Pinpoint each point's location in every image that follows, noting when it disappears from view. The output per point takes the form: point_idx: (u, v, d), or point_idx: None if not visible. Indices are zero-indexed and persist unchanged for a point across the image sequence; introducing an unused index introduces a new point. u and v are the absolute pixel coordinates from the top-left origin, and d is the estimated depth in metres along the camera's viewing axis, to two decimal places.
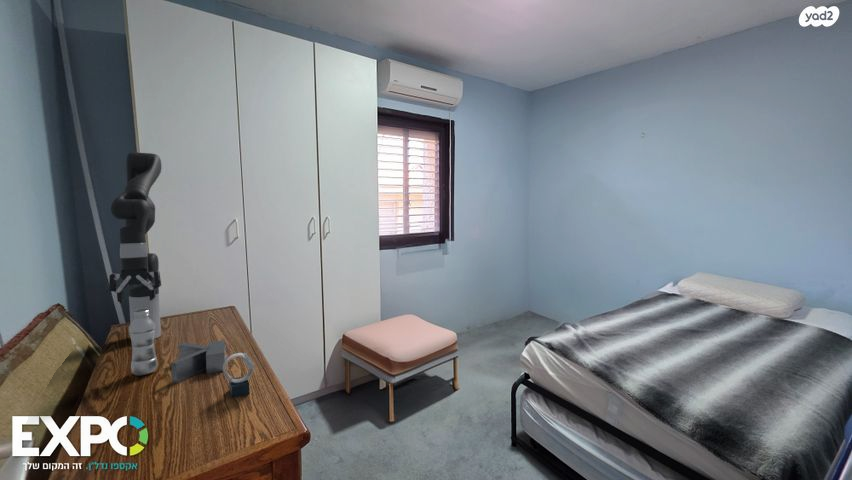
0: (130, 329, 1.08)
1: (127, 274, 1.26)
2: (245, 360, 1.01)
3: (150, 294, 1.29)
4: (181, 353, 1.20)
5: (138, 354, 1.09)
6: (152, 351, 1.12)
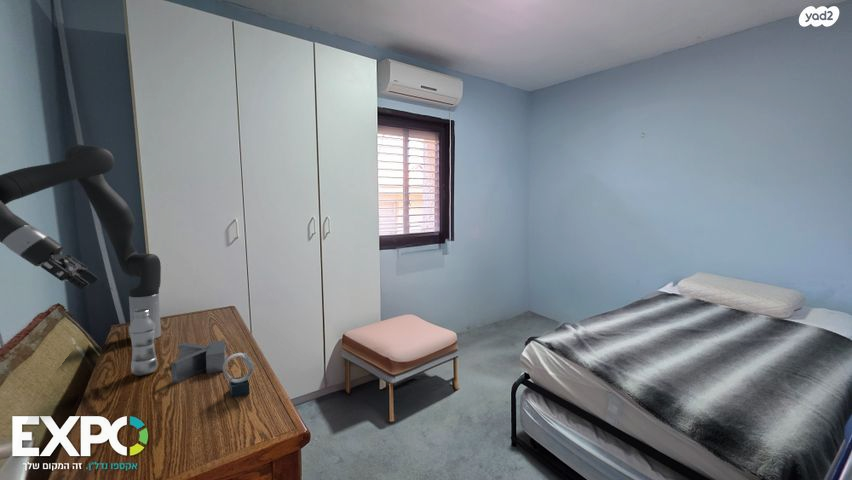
0: (130, 329, 1.08)
1: None
2: (245, 360, 1.01)
3: None
4: (181, 353, 1.20)
5: (138, 354, 1.09)
6: (152, 351, 1.12)
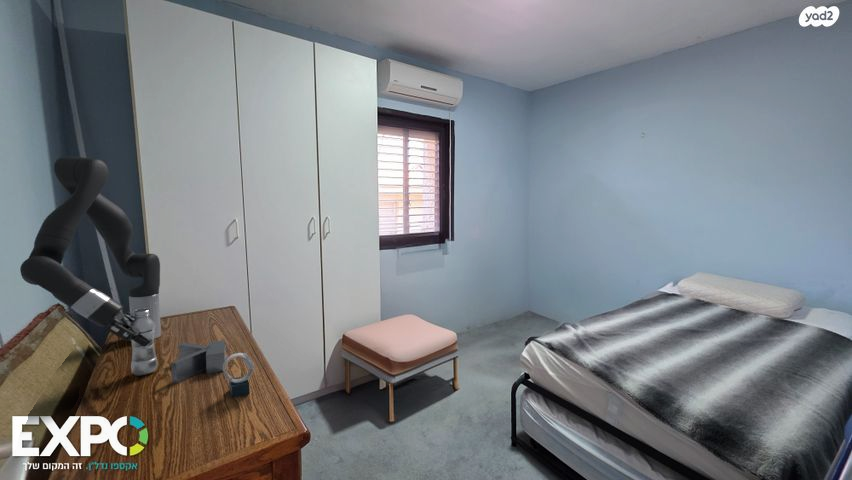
0: None
1: None
2: (245, 360, 1.01)
3: None
4: (181, 353, 1.20)
5: (138, 354, 1.09)
6: (153, 351, 1.12)
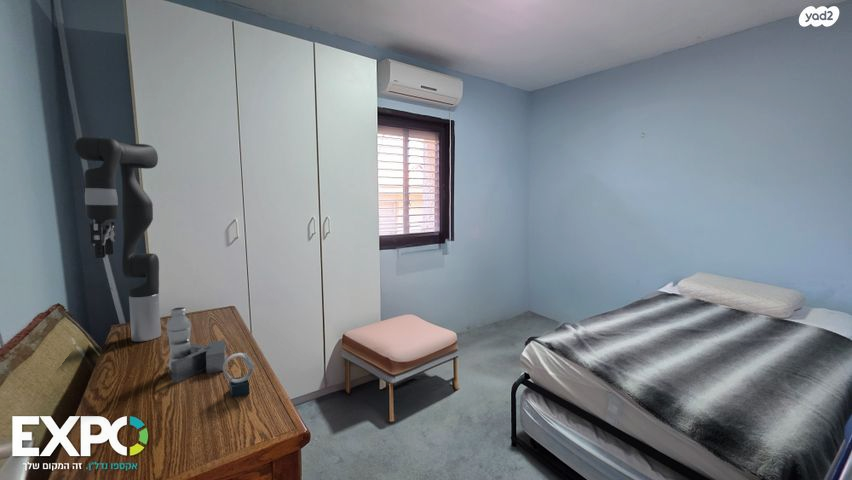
0: (168, 327, 1.11)
1: None
2: (245, 360, 1.01)
3: None
4: None
5: (176, 352, 1.12)
6: (189, 349, 1.14)
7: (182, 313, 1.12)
